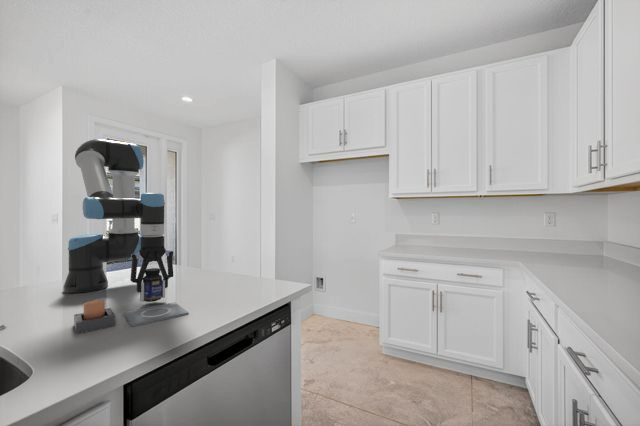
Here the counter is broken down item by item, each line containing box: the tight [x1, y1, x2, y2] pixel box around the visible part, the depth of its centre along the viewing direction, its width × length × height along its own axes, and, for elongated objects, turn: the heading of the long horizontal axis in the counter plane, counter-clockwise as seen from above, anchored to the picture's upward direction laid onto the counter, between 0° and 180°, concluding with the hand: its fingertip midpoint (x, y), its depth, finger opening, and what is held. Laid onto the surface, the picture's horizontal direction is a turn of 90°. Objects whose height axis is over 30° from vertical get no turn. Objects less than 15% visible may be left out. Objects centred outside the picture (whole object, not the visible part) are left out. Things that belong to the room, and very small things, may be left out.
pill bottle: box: [142, 267, 163, 303], centre depth 109 cm, size 6×6×11 cm
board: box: [122, 301, 189, 327], centre depth 98 cm, size 14×16×1 cm
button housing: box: [73, 307, 116, 335], centre depth 89 cm, size 9×9×3 cm
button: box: [83, 299, 106, 320], centre depth 89 cm, size 5×5×5 cm
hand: (152, 298), depth 109 cm, fingers closed on pill bottle, 6 cm apart
